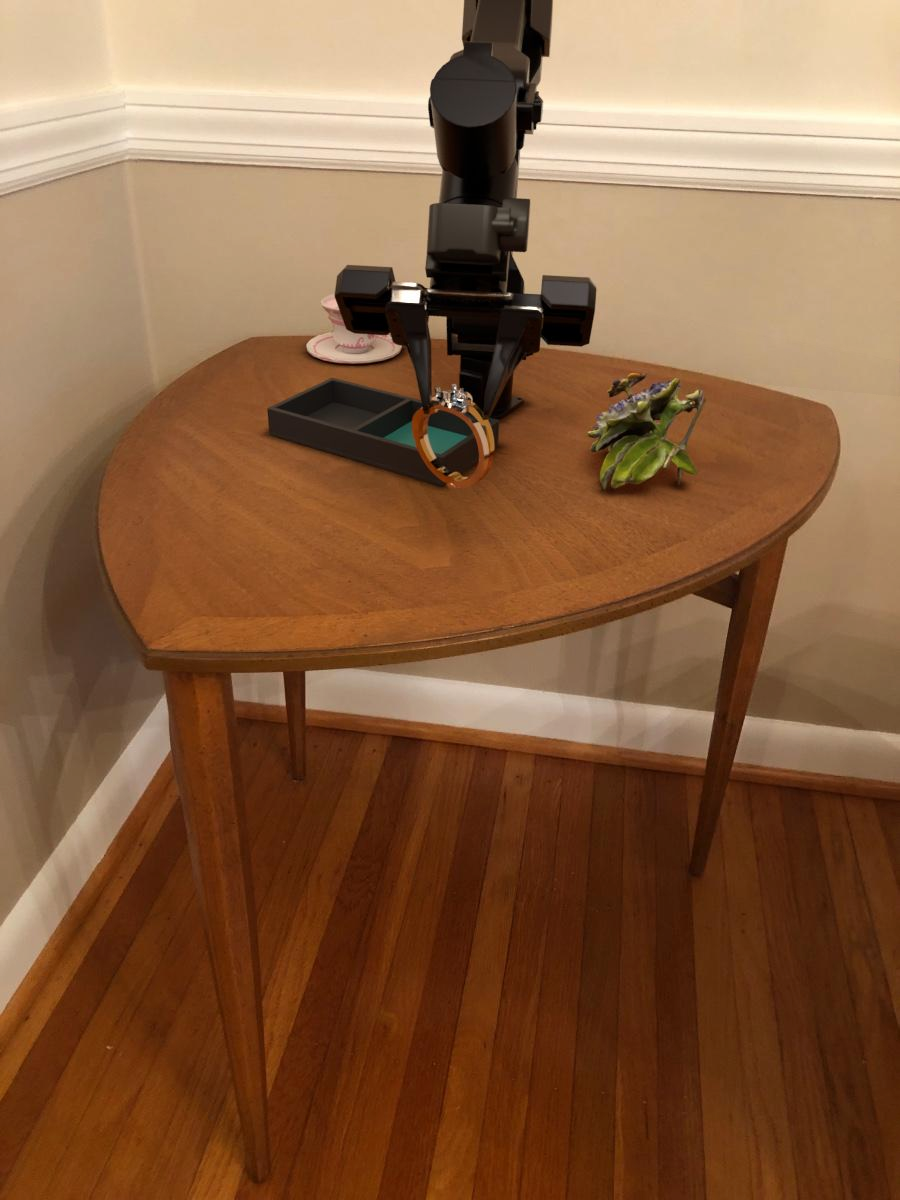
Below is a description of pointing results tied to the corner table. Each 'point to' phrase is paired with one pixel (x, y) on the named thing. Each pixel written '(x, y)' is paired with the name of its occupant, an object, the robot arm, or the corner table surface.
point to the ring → (474, 417)
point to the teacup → (349, 341)
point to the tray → (374, 428)
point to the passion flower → (643, 431)
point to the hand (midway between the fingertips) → (455, 414)
